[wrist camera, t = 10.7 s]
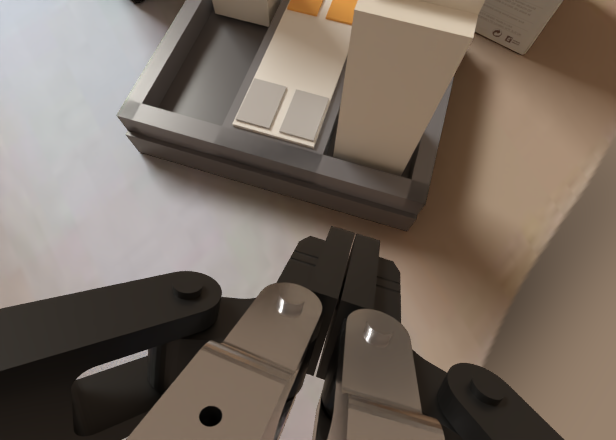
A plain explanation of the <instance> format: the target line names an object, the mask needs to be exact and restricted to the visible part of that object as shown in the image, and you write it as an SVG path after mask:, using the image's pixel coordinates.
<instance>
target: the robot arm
mask: <svg viewBox="0 0 616 440" xmlns="http://www.w3.org/2000/svg"><path fill="white" fill-rule="evenodd" d="M353 237H354V233H353V232H350V231H346V230H343V229H340V228H337V227H333V226H331V229H330V231H329V234H328V236H327V238H326V241H325V240H322V239H318V238H315V237H312V236H309V237H307V238H305V239H303V240H301V241H299V243H298V245H297V247H296V248H295V250H294V252H293V254H292V256H291V258H290V259H289V261H288V263H287V265H286V266H285V268H284V270H283V272H282V274H281V276H280V277H279V279H278V281H277V283H274V284H271V285H269V286H267V287H265V288H264V289H263V290H262V291H261V292H260V294H259V295H258V296H257V298H252V299H237V298H227V297H221V295H222V290H221V287H220V285H219V284H218V283H217V282H216V281H215V280H214V279H213V278H211V277H209V276H207V275H205V274H202V273H198V272H192V271H180V272H173V273H169V274H164V275H159V276H154V277H150V278H145V279H140V280H135V281H130V282H126V283H121V284H116V285H111V286H107V287H102V288H97V289H92V290H88V291H83V292H78V293H73V294H68V295H64V296H59V297H54V298H49V299H45V300H40V301H35V302H30V303H26V304H21V305H16V306H11V307H6V308H2V309H0V440H122V439H124V438H126V437H128V436H129V437H128V438H127V439H126V440H279V438H280V436H281V433H282V431H283V428H284V426H285V424H286V421H287V419H288V416H289V414H290V411H291V409H292V406H293V404H294V401H295V398H296V395H297V393H298V392H299V391H300V389H301V387H302V385H303V382H304V379H305V375H306V374H309V375H312V376H313V375H314V372H315V369H316V366H317V363H318V360H319V357H320V354H321V351H322V347H323V344H324V341H325V344H324V348H323V352H322V356H321V359H320V363H319V367H318V371H317V375H316V377H318V378H321V379H324V380H325V382H324V386H323V390H322V393H321V396H320V399H319V402H318V405H317V409H316V415H315V422H314V429H313V436H312V440H564V439H563V438H562V437H561V436H560V435H559V434H558V433H557V432H556V431H555V430H554V429H553V428H552V427H550V425H549V424H548V423H547V422H545V421H544V419H542V418H541V417H540V416H539V415H538V414H537V413H536V412H535V411H534V410H533V409H532V408H531V407H530V406H529V405H528V404H527V403H526V402H525V401H524V400H523V399H522V398H521V397H520V396H519V395H518V394H517V393H516V392H515V391H514V390H513V389H512V388H511V387H510V386H509V385H508V384H506V382H504V381H503V380H502V379H501V378H500V377H498V376H497V375H495V374H494V373H492V372H491V371H489V370H486V369H485V368H483V367H480V366H477V365H474V364H469V363H459V364H455V365H453V366H452V367H451V368H450V369H449V371H448V373H447V372H445V371H443V370H441V369H440V368H438V367H436V366H435V365H433V364H431V363H429V362H428V361H426V360H425V359H423V358H422V357H420V356H419V355H418V354H417V353H416V352H415V351H413V350H412V346H411V340H410V336H409V334H408V332H407V330H406V329H405V328H404V326H403V325H402V324H401V294H400V272H399V270H398V268H397V267H396V265H395V264H394V262H393V261H390V260H387V259H384V258H380V257H379V248H380V240H376V239H373V238H370V237H366V236H363V235H360V234H356V236H355V239H354V243H353V246H352V249H351V245H352V241H353ZM350 249H351V252H350ZM349 253H350V255H349ZM348 257H349V258H348ZM326 335H327V336H326ZM325 338H326V340H325ZM147 349H148V356H146V357H143V358H140V359H137V360H134V361H131V362H128V363H125V364H122V365H119V366H116V367H113V368H110V369H107V370H105V371H102V372H99V373H96V374H93V375H90V376H87V377H84V378H81V379H78V380H76V379H77V378H78V377H79V376H80V375H81V374H82V373H83V372H85V371H87V370H88V369H90V368H93V367H95V366H98V365H101V364H104V363H107V362H110V361H113V360H117V359H120V358H123V357H126V356H129V355H132V354H135V353H138V352H141V351H144V350H147Z"/></svg>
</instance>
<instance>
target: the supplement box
mask: <svg viewBox="0 0 616 440" xmlns="http://www.w3.org/2000/svg"><path fill="white" fill-rule="evenodd" d="M562 2H563V0H485V2H484V4H483V6H482V8H481V10H480V12H479V14H478V18H477V23H476V28H475V32H477V33H479V34H481V35H483V36H485V37H487V38H489V39H491V40H493V41H495V42H497V43H499V44H501V45H503V46H505V47H507V48H509V49H511V50H513V51H515V52H517V53H519V54H521V55H523V54H525V53H526V52H527V51H528V50H529V48H530V47H531V46H532V44H533V43H534V41H535V40H536V39H537V37H538V36H539V34H540V33H541V31H542V30H543V28H544V27H545V25H546V24H547V23H548V21H549V20H550V18H551V17H552V16H553V14H554V13H555V11H556V10H557V9H558V7H559V6H560V4H561V3H562Z"/></svg>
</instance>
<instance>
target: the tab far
mask: <svg viewBox="0 0 616 440" xmlns="http://www.w3.org/2000/svg"><path fill="white" fill-rule="evenodd" d="M281 1H282V0H212V2H213V6H214V10H215V14H219V15H223V16H227V17H231V18H235V19H239V20H243V21H247V22H251V23H255V24H259V25H263V26H267V27H269V26H270V24H271V22H272V20H273V17H274V15H275V13H276V11H277V9H278V7H279V5H280V3H281Z"/></svg>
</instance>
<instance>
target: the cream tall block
mask: <svg viewBox="0 0 616 440" xmlns="http://www.w3.org/2000/svg"><path fill="white" fill-rule="evenodd" d="M484 2H485V0H358V1H357V4H356V6H355V9H354V15H353V22H352V29H351V36H350V43H349V50H348V57H347V64H346V71H345V78H344V84H343V91H342V98H341V105H340V112H339V119H338V126H337V133H336V140H335V147H334V153H333V158H337V159H340V160H344V161H347V162H351V163H355V164H358V165H362V166H365V167H369V168H372V169H376V170H379V171H383V172H386V173H390V174H394V175H397V176H401V175H402V173H403V171H404V169H405V167H406V165H407V163H408V162H409V160H410V158H411V156H412V154H413V152H414V150H415V148H416V146H417V144H418V143H419V141H420V139H421V137H422V135H423V133H424V131H425V129H426V127H427V125H428V123H429V122H430V120H431V118H432V116H433V114H434V112H435V110H436V108H437V106H438V104H439V103H440V101H441V99H442V97H443V95H444V93H445V91H446V89H447V87H448V85H449V84H450V82H451V80H452V78H453V76H454V74H455V72H456V70H457V68H458V66H459V64H460V63H461V61H462V59H463V57H464V55H465V53H466V51H467V49H468V47H469V45H470V44H471V42H472V40H473V37H474V33H475V28H476V23H477V18H478V14H479V12H480V10H481V8H482V6H483V4H484Z"/></svg>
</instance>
